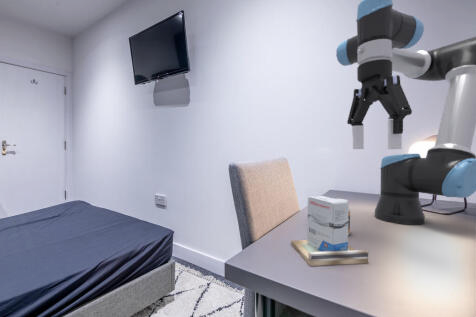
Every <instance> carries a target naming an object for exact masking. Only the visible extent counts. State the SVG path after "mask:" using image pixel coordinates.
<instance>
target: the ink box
mask: <svg viewBox="0 0 476 317" xmlns="http://www.w3.org/2000/svg"><path fill="white" fill-rule="evenodd" d="M337 199H338V198H332V197H328V196H324V195H316V196H308V197H307V238H306V240H307V243H308V244H309V245H311V246H313V247H315V248H317V249H319V250H321V251H323V252H325V251H348V245H349V235H348V208H349V201H348V202H345V201H341V200H337Z"/></svg>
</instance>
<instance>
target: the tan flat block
mask: <svg viewBox="0 0 476 317" xmlns="http://www.w3.org/2000/svg"><path fill="white" fill-rule="evenodd" d="M290 242H291V243H290V244H291V246H292V247H293V248H294V249H295V251H297V253H298V254H299V255H300V257H302V259H304V261H305V262H306V263H307V264H308V265H309V266H310V267H315V266H335V265H339V266H340V265H356V264H358V265H359V264H369V251H368V250H367V249H355V248H353V247H352V246H351V245H349V244H348V251H325V252H323V251H321V250H319V249H317V248H315V247H313V246H311V245H309V244H308V243H307V239H304V240H302V239H301V240H300V239H298V240H294V239H293V240H290Z"/></svg>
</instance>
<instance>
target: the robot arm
mask: <svg viewBox="0 0 476 317" xmlns="http://www.w3.org/2000/svg"><path fill="white" fill-rule="evenodd" d="M393 5H394V2H393V0H361V1H360V2H359V4H357V14H356V28H357V35H355V36H352V37H349V38H347V39H346V40H344V41H343V42H341V43H339V45H338V46H337V48H336V50H335V51H336V53H335V54H336V56H335V57H336V59H337V61H338V63H339V64H340V65H341V66H344V67H347V66H352V65H353V64H357V65H358V66H357V69H356V74H357V75H356V76H357V77H356V78H357V82H359V83H361V88H354V90H353V97H352V103H351V106H350V110H349V114H348V117H347V120H346V121H347V122H346V123H347V125H351V127H352V149H353V150H364V148H365V147H364V146H365V145H364V141H365V140H364V139H365V137H364V135H365V134H364V130H365V129H364V123H363V122H364V120H365V117H366V115H367V113H368V111H369V109H370V107H371V106H372V105H373V104H374V103H376V102H377V101H378V102H379V103H380V104H381V106H382V107H383V109H384V110H385V111H386V113H387V115H388V116H389V117H388V118H387V150H403V149H402V142H403V141H402V140H403V139H402V136H403V135H402V134H403V132H404V119H405V118H406V116H410V115H411V114H412V113H413V110H412V108H411V106H410V103H409V101H408V99H407V96H406V94H405V92H404V90H403V87H402V85H401V77H400V75H398V74H397V75H393V72H396V73H401V74H402V75H404V76H405V77H406V78H408V79H412V80H417V81H418V80H419V81H426V82H427V81H429V82H430V81H431V82H438V81H446V82H448V83H449V84H448V88H447V92H446V93H447V94H446V96H445V101H444V105H443V110H442V114H441V118H440V122H439V127H438V131H437V135H436V140H435V144H434V146H433V147H431V148H429V149H428V150H427V152H426V156H425V157H422V156H421V155H420V153H404V154H394V155H393V154H392V155H387V156H384V157H382V159H381V163H380V167H379V168H380V195H379V198H378V201H377V204H376V206H375V209H374V217H375V218H377V219H378V220H381V221H385V222H388V223H389V222H390V223H395V224H402V225H423V224H425V222H426V216H425V213H424V210H423V207H422V204H421V201H420V193H421V194H428V195H435V196H442V197H446V198H458V199H459V198H462V199H463V198H464V199H465V198H469V197H470V196H472V195H473V194H475V192H476V154H475V153H474V152H473V151H472V150H471V149H472V145H473V142H474V141H473V140H474V136H475V131H476V36H473V37H471V38H466V39H464V40H460V41H457V42H453V43H450V44H447V45H444V46H441V47H439V48H434V49H431V50H416V51H414V50H411V48H413V46H415V45H416V44H418V42H419V41H420V40H421V38H422V36H423V34H424V31H425V28H424V24H423V21H421V19H419V18H417V17H415V16H414V15H409V14H406V13H404V12H400V11H398V10H396V9H393Z"/></svg>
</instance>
